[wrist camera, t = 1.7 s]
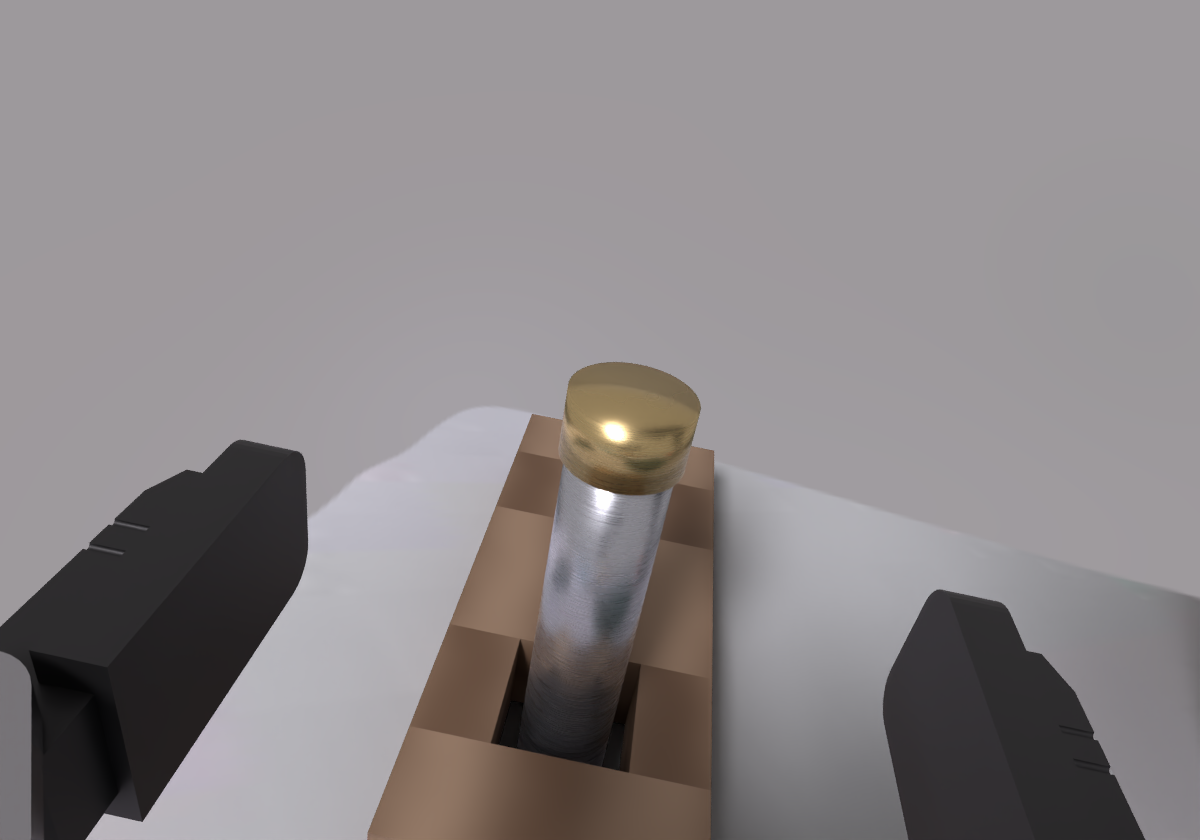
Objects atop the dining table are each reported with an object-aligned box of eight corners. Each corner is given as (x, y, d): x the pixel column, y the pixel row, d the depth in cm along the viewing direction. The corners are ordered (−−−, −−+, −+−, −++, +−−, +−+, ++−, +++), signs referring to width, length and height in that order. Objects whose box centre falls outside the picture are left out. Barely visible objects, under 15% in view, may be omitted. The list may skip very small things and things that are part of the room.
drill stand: (699, 501, 45) (714, 450, 43) (684, 967, 25) (709, 907, 23) (525, 466, 45) (532, 414, 44) (367, 897, 25) (367, 833, 23)
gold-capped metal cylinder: (610, 732, 31) (701, 377, 23) (599, 818, 28) (699, 444, 20) (520, 713, 32) (578, 352, 23) (499, 796, 28) (557, 415, 20)
